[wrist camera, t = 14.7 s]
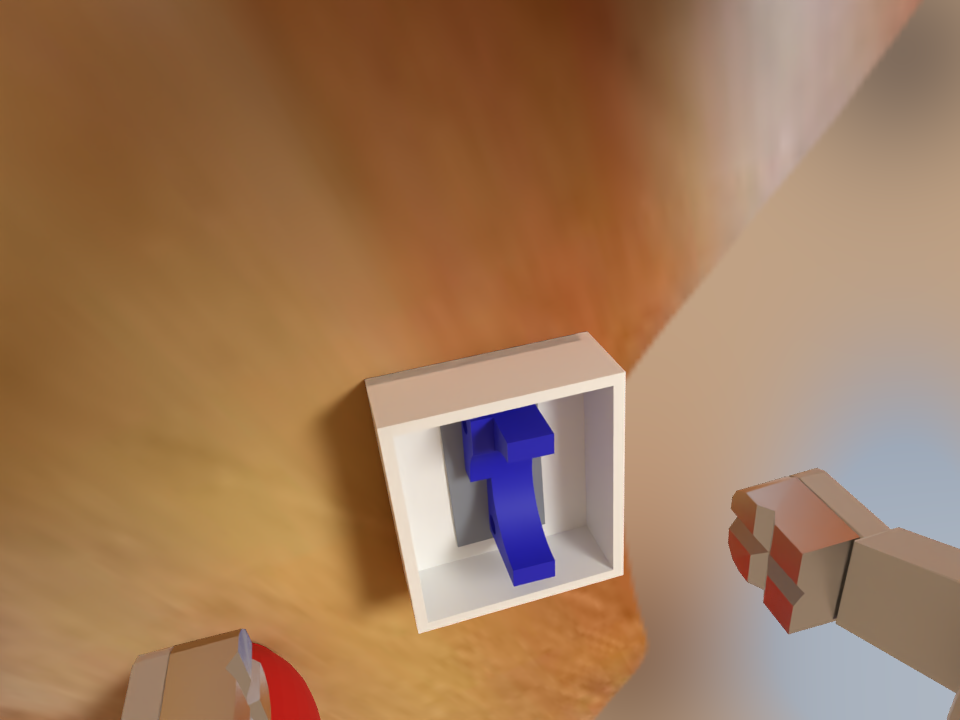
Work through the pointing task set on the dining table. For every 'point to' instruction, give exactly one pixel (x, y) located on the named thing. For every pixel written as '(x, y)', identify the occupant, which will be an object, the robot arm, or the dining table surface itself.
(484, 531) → the walled box
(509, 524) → the blue curved block
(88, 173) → the dining table surface
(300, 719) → the ceramic cup
